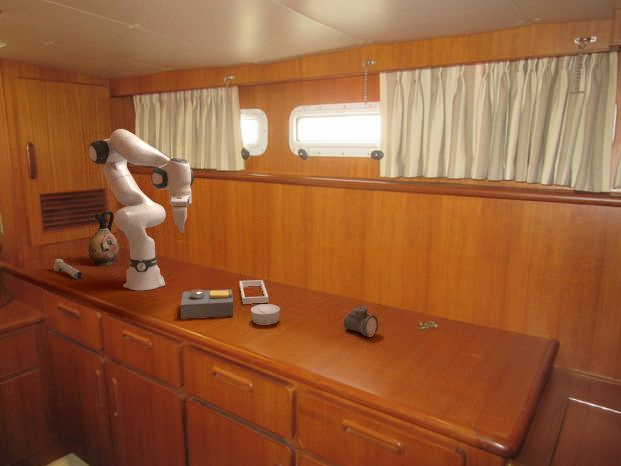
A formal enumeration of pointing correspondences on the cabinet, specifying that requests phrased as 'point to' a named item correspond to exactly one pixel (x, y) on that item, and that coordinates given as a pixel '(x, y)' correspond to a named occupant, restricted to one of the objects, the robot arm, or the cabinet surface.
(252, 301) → the rectangular frame
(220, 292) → the yellow rectangular slab
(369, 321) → the pipe fitting
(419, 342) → the cabinet surface
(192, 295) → the steel peg
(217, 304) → the hitch block
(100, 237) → the ceramic jug
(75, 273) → the beige knobbed rod
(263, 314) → the ramekin
